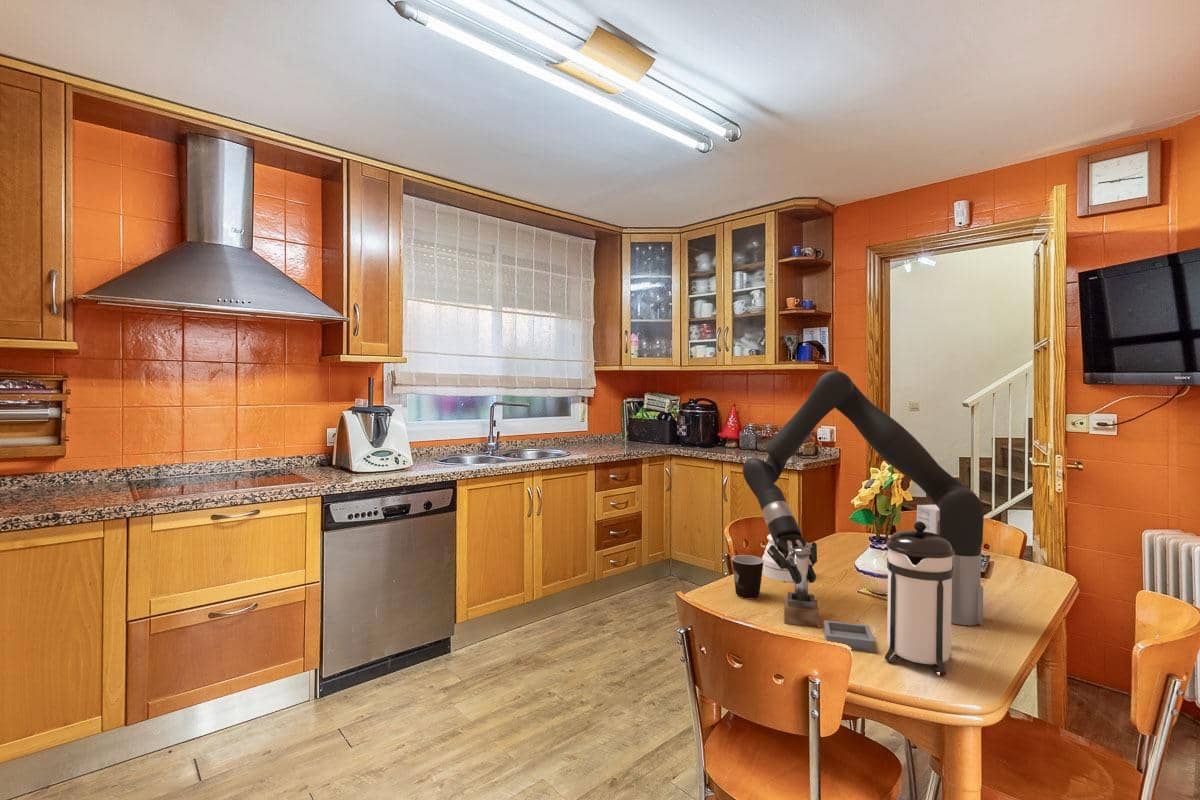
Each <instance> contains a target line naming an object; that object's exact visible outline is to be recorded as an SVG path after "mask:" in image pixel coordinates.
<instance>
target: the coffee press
mask: <svg viewBox="0 0 1200 800" xmlns="http://www.w3.org/2000/svg"><path fill="white" fill-rule="evenodd" d="M913 528H914V529H915V530H914V529H905V530H899V531H896V532H894V533H893V534H891V535H890V536H889V539H888V540H887V541H886V545H885V546H886V548H887V550H888V551H887V552H888V553H887V557H886V568H887V615H886V616H887V617H886V618H887V620H886V621H887V622H886V623H887V625H886V626H887V628H886V629H887V630H886V631H887V633H886V634H887V635H886V638H887V640H886V641H887V646H888V650H887V652H886V654H885V656H884V659H885V661H886V662H888V663H889V664H891V663H892V664H894V663H895V662H896V661H897V660H898V659H900V658H902V659H904V660H907V661H910V662H914V663H917V664H922V665H923V664H924V665H930V666H931V667H932V668H933V670H934V672H935V673H936V672H940V675H942V676H947V669H946V667H945V665H944V663H945V662H947V661H948V660H949V659H950V658H951V656H952V653H951V651H952V645H951V644H952V623H951V604H952V577H953V566H952V557H953V556H954V554H955V550H954V548H952V546H951V543H950V542H949V541H948V540H947V539H946V538H944V537H942V536H940V535H938V534H934V533H931V532H925V531H924V530H925V529H926V526H925V524H924V523H923V522H920V521H919V522H917V521H916V522H915V523H914V525H913Z"/></svg>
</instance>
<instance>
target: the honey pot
mask: <svg viewBox="0 0 1200 800" xmlns="http://www.w3.org/2000/svg"><path fill="white" fill-rule="evenodd" d="M766 539H767V540H768V543H767V545H765V550H764V551H763V552H764V554H763V555H762V557H761V558H762V559H763V560H764V562H763V570H762V573H763V574H764V575H765V576H766V577H768V578H771V579H774V580H773V581H775V580H779V581H778V582H781V581H786V582H785V583H795V582H794V581H793V579H792V577H791V575H790V572H789V571H788V570H787V569H785V568H784V569H781V568H780V567H779V566H778V565H777V563H776V562H775V561H774V560H773V559H772V558H771V556H770V555H769V554H768V553H767V550H768V549H769V547H770V546H771V545H774V541H773V539H772V537H771V534H770V533H769V534H768V535H767V537H766ZM779 552H780V551H779ZM780 554H781V555H782V556H783V554H782V553H781V552H780ZM794 562H795V557H794ZM763 574H762V575H763ZM766 577H765V578H766ZM768 578H767V579H768ZM771 579H770V580H771Z"/></svg>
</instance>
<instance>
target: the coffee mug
mask: <svg viewBox="0 0 1200 800" xmlns="http://www.w3.org/2000/svg"><path fill="white" fill-rule="evenodd" d="M731 559H732V561H731V562H732V569H733V578H734V579H733V581H734V587H735V595H736V594H737V595H738V596H737V595H736V596H737V597H739V596H740V597H739V598H741V597H743V598H742V599H745V598H755V599H758V598H759V597H760V594H761V586H762V576H763V574H762V570H763V562H764V560H763V559H762V557H758V556H755V555H748V554H740V555H739V554H738V555H734V556H733V557H731ZM757 597H758V598H757Z"/></svg>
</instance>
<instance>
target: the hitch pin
mask: <svg viewBox="0 0 1200 800" xmlns="http://www.w3.org/2000/svg"><path fill="white" fill-rule="evenodd" d="M810 552H811V549H810V548H807V547H801V546H797V547H793V554H795V567H797V569H798V571H799V574H800V576H801V578H802V581H801V583H800V584H796V583H795V582H794V593H795V600H800V601H808V594H809V580H808V558H809V555H810Z"/></svg>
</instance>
